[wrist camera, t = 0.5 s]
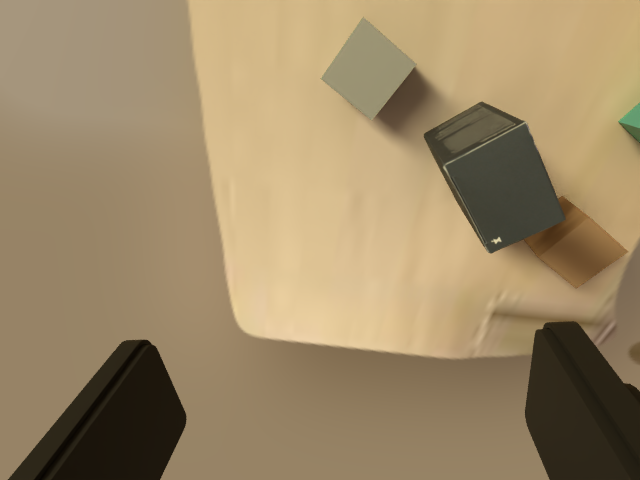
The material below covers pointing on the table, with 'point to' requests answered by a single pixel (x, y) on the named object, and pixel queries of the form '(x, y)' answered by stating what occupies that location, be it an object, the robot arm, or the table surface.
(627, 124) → the teal cube
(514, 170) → the box
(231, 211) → the table surface
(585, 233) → the walnut cube
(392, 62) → the slate cube
